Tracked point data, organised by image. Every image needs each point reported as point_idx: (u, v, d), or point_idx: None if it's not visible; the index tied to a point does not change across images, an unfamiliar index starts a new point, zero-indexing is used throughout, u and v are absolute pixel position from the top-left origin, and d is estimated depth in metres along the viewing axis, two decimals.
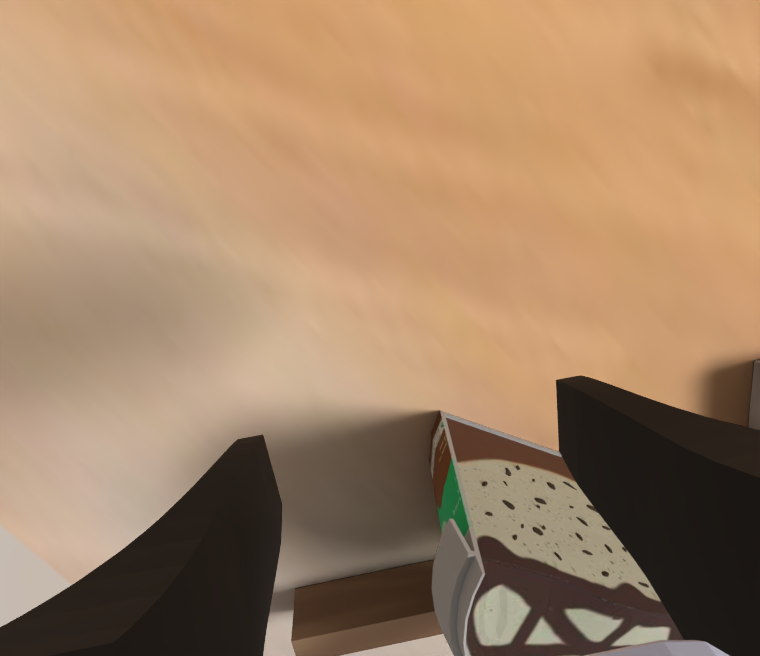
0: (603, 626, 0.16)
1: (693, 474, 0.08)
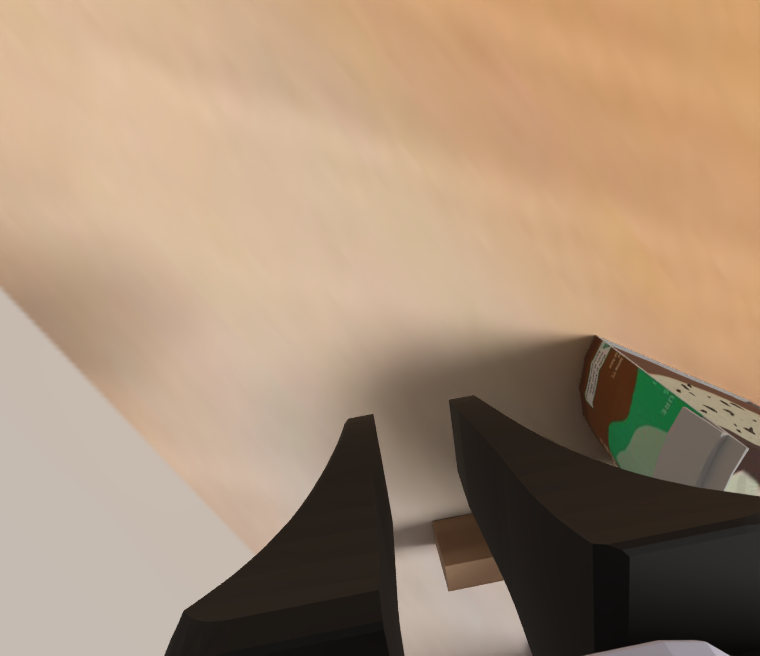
0: None
1: (525, 507, 0.08)
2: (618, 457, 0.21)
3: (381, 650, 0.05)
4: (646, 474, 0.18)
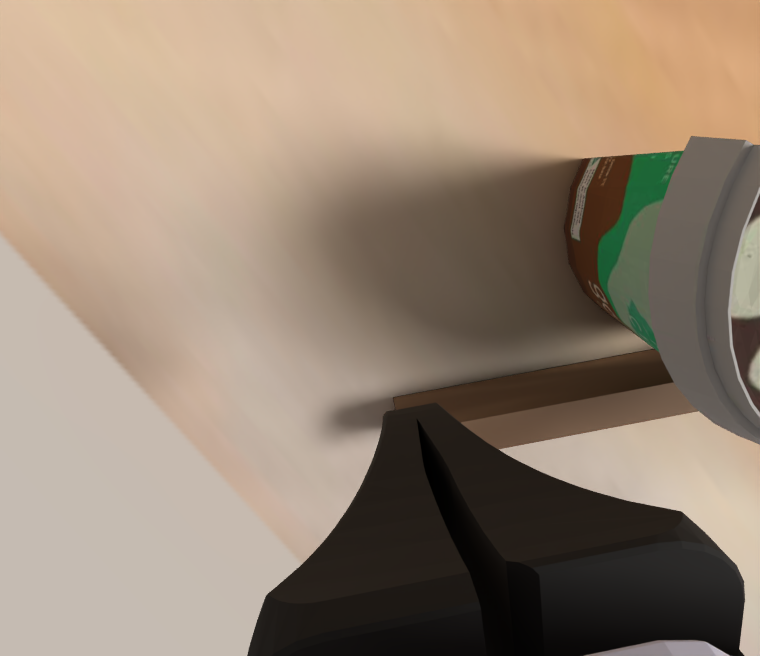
0: None
1: (465, 518, 0.08)
2: (609, 283, 0.17)
3: (477, 631, 0.05)
4: (643, 271, 0.14)
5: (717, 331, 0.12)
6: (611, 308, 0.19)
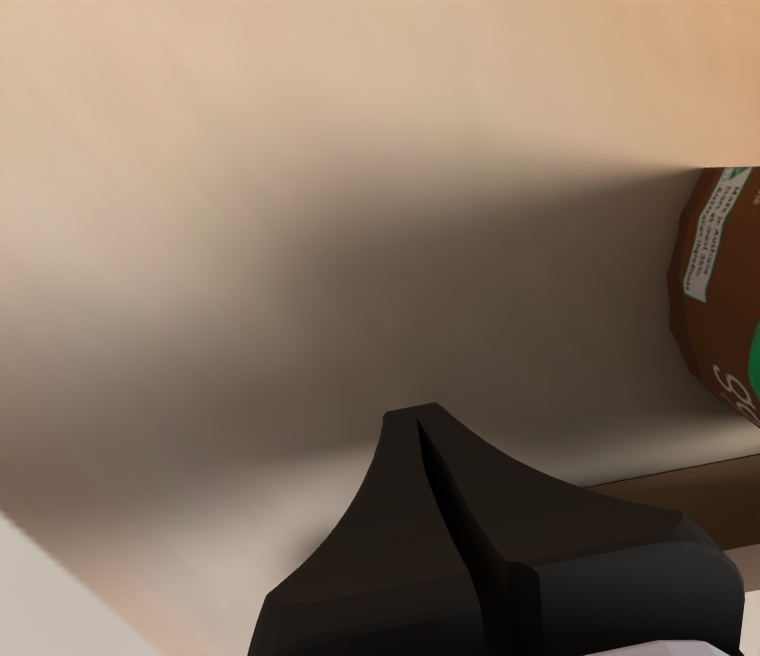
0: None
1: (465, 518, 0.08)
2: None
3: (477, 631, 0.05)
4: None
5: None
6: None
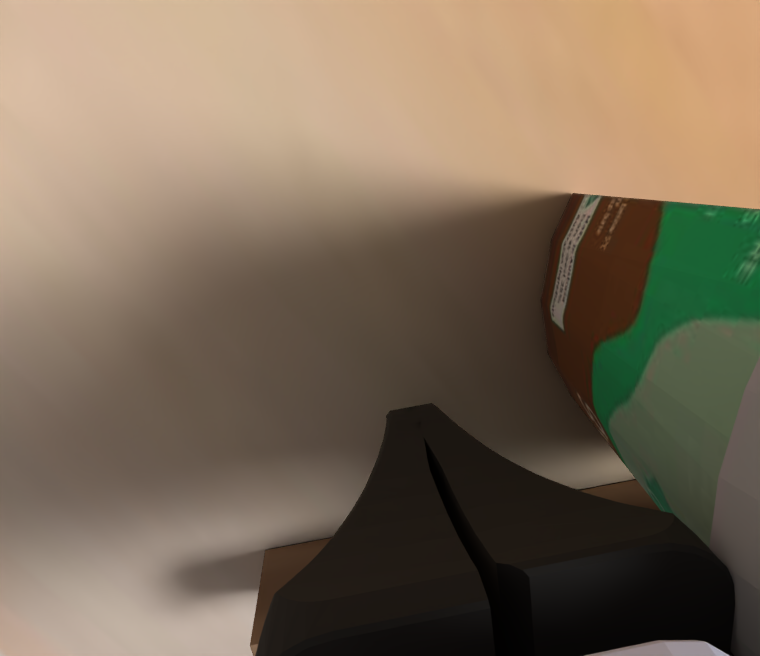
0: None
1: (459, 520, 0.08)
2: (612, 423, 0.10)
3: (486, 629, 0.05)
4: (686, 453, 0.07)
5: None
6: (614, 448, 0.11)
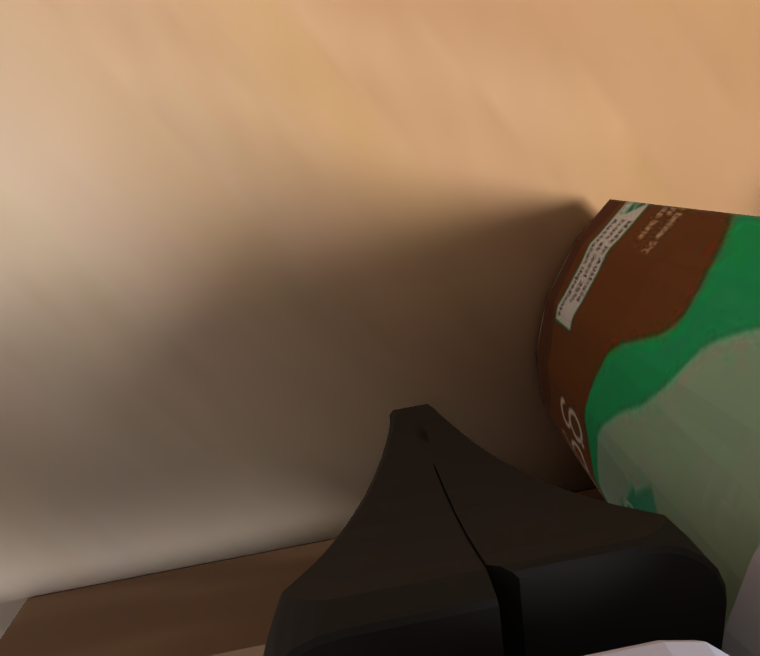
0: None
1: None
2: (607, 428, 0.09)
3: (495, 627, 0.05)
4: (712, 462, 0.07)
5: None
6: (587, 458, 0.11)
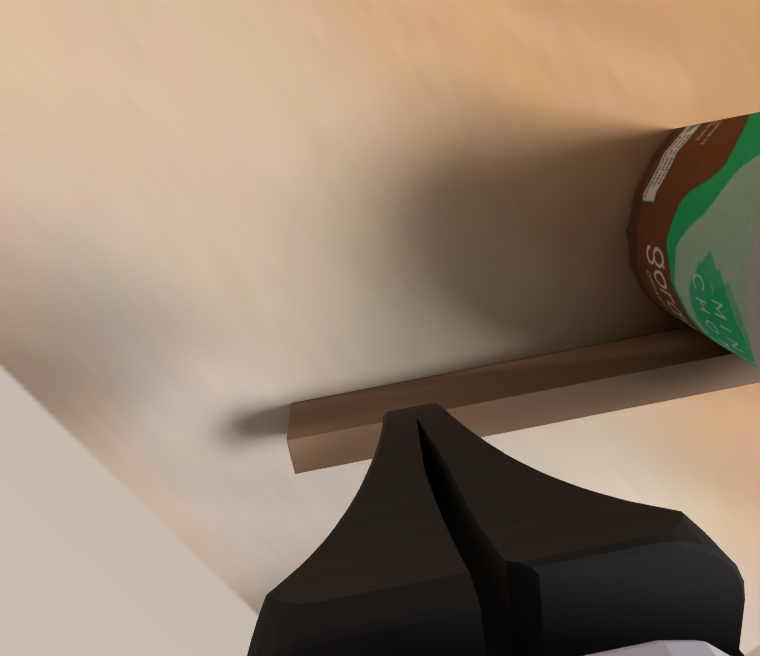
0: None
1: (465, 518, 0.08)
2: (682, 239, 0.17)
3: (477, 631, 0.05)
4: (742, 215, 0.14)
5: None
6: (667, 273, 0.19)
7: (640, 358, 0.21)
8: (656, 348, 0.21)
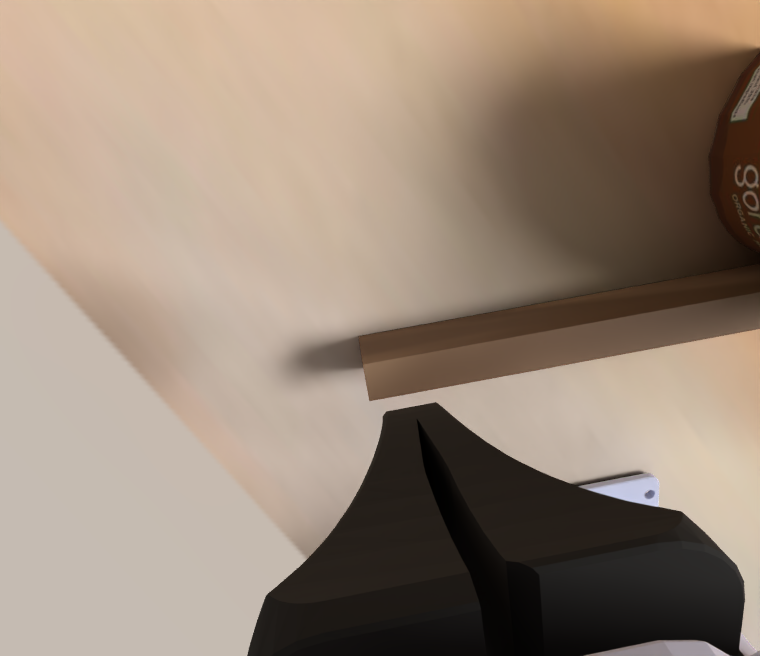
0: None
1: (465, 518, 0.08)
2: None
3: (477, 631, 0.05)
4: None
5: None
6: None
7: (724, 288, 0.20)
8: (737, 279, 0.21)
